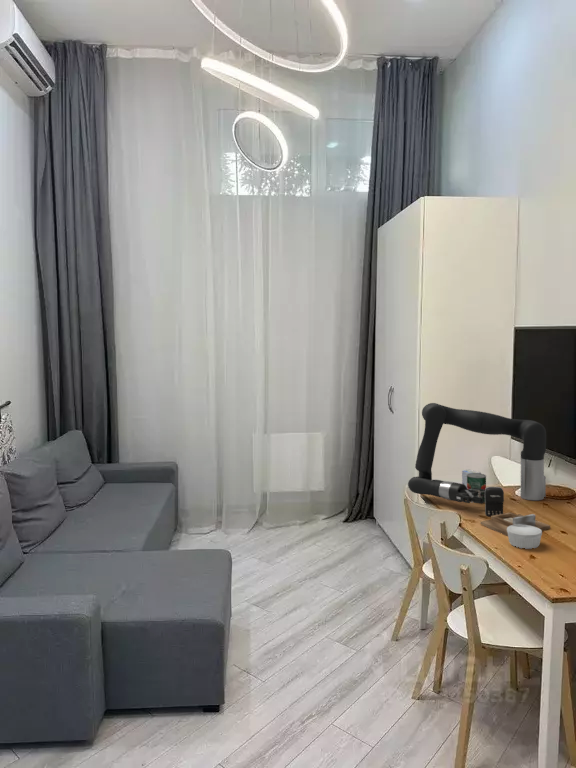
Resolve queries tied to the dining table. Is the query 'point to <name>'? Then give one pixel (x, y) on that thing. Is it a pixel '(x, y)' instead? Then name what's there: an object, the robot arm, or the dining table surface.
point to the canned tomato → (476, 481)
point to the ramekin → (524, 536)
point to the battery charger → (494, 501)
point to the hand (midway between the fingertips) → (488, 498)
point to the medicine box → (464, 475)
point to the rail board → (512, 522)
